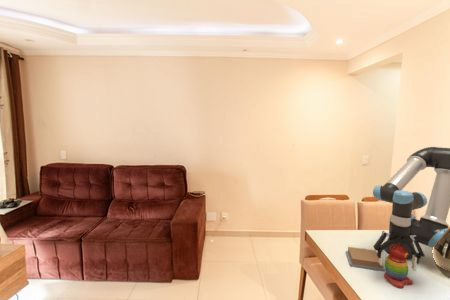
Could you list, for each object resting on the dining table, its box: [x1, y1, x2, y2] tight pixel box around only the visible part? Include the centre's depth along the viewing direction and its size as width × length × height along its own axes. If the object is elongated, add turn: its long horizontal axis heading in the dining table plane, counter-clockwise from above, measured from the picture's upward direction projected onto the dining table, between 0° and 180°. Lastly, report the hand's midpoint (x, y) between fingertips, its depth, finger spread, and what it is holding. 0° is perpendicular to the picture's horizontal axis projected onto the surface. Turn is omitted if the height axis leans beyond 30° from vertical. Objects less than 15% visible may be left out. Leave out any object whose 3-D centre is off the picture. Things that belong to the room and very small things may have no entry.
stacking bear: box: [383, 243, 413, 289], centre depth 117 cm, size 11×10×18 cm
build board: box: [345, 246, 386, 273], centre depth 134 cm, size 16×14×4 cm
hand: (396, 266), depth 117 cm, fingers open, 13 cm apart
